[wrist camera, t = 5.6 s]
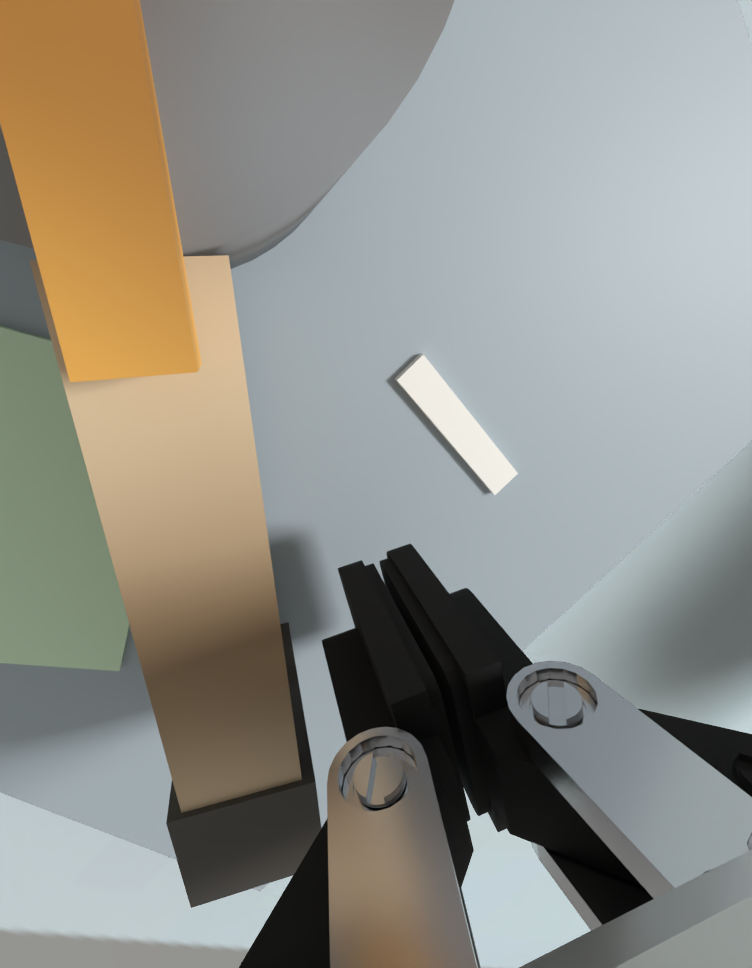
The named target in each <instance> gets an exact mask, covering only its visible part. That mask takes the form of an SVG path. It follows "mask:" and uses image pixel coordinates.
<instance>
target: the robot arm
mask: <svg viewBox="0 0 752 968" xmlns="http://www.w3.org/2000/svg"><path fill="white" fill-rule="evenodd" d="M380 567H381V571H382V575H383V579H384V582H383V580H382V578H381V576H380V574H379V572H378V570H377V569H376V567H375V565H374V563H372V564H369V565H366V566H365V565H364V563H363V561H362V560H360V561H357V562H354V563H351V564H349V565H346V566H343V567H340V568H338V572H339V575H340V579H341V582H342V585H343V589H344V592H345V595H346V599H347V602H348V606H349V609H350V612H351V616H352V619H353V622H354V626H355V628H354V629H351V630H348V631H345V632H342V633H340V634H337V635H334V636H331V637H329V638H326V639H323V640H322V645H323V649H324V653H325V657H326V661H327V665H328V669H329V673H330V677H331V681H332V685H333V689H334V693H335V697H336V701H337V705H338V709H339V713H340V717H341V722H342V726H343V730H344V734H345V738H346V743H345V744H344V746H343V747H342V748H341V749H340V750H339V752H338V753H337V754H336V755H335V757H334V759H333V762H332V764H331V766H330V768H329V773H328V780H327V820H326V821H325V823H324V825H323V826H322V828H321V830H320V832H319V833H318V835H317V837H316V838H315V840H314V842H313V843H312V845H311V847H310V848H309V850H308V852H307V853H306V855H305V857H304V859H303V860H302V862H301V864H300V865H299V867H298V869H297V870H296V872H295V874H294V875H293V877H292V879H291V880H290V882H289V884H288V886H287V887H286V889H285V891H284V892H283V894H282V896H281V897H280V899H279V901H278V902H277V904H276V906H275V907H274V909H273V911H272V913H271V914H270V916H269V918H268V919H267V921H266V923H265V924H264V926H263V928H262V929H261V931H260V933H259V934H258V936H257V938H256V940H255V941H254V943H253V945H252V946H251V948H250V950H249V951H248V953H247V955H246V956H245V958H244V960H243V962H242V963H241V965H240V967H239V968H481V966H480V962H479V958H478V954H477V949H476V945H475V941H474V937H473V933H472V929H471V925H470V921H469V917H468V913H467V908H466V904H465V900H464V896H463V892H462V888H461V886H462V883H463V880H464V877H465V874H466V871H467V868H468V865H469V862H470V859H471V856H472V853H473V846H472V842H471V837H470V833H469V829H468V825H467V821H469V820H470V815H469V810H468V806H467V802H466V797H465V793H464V789H465V791H466V793H467V795H468V797H469V800H470V802H471V804H472V806H473V808H474V810H475V812H476V813H477V815H478V816H480V815H482V814H484V813H486V812H488V813H489V815H490V817H491V819H492V821H493V823H494V825H495V827H496V829H497V831H498V832H500V831H502V830H504V829H506V828H507V829H508V831H509V833H510V834H512V835H515V836H517V837H520V838H522V839H525V840H527V841H530V842H531V844H532V847H533V849H534V851H535V853H536V854H537V856H538V858H539V860H540V861H541V863H542V864H543V865H544V867H545V868H546V869H547V871H548V872H549V873H550V875H551V876H552V878H553V879H554V880H555V882H556V883H557V884H558V886H559V887H560V889H561V890H562V891H563V893H564V894H565V895H566V897H567V898H568V900H569V901H570V902H571V904H572V905H573V906H574V908H575V909H576V910H577V912H578V913H579V915H580V916H581V917H582V919H583V920H584V921H585V923H586V924H587V926H588V927H589V928H590V930H591V931H590V932H588V933H586V934H584V935H582V936H580V937H578V938H576V939H574V940H573V941H571V942H569V943H567V944H565V945H563V946H561V947H559V948H557V949H555V950H553V951H551V952H549V953H547V954H545V955H543V956H541V957H539V958H537V959H535V960H533V961H531V962H529V963H528V964H526V965H524V966H522V967H520V968H752V734H748V733H743V732H739V731H735V730H730V729H726V728H721V727H717V726H712V725H708V724H704V723H699V722H695V721H690V720H686V719H681V718H677V717H673V716H668V715H664V714H659V713H655V712H650V711H646V710H642V709H637V708H636V707H634V706H633V705H632V704H631V703H629V702H628V701H627V700H625V699H624V698H623V697H621V696H620V695H619V694H618V693H616V692H615V691H614V690H612V689H611V688H610V687H609V686H607V685H606V684H605V683H603V682H602V681H601V680H599V679H598V678H597V677H596V676H594V675H593V674H591V673H590V672H588V671H586V670H585V669H583V668H581V667H579V666H576V665H573V664H570V663H566V662H558V661H546V662H538V663H534V664H533V663H532V662H531V661H530V660H529V659H528V658H527V656H526V655H525V654H524V653H523V652H522V650H521V649H520V648H519V647H518V646H517V645H516V643H515V642H514V641H513V640H512V639H511V637H510V636H509V635H508V634H507V633H506V632H505V630H504V629H503V628H502V627H501V626H500V625H499V623H498V622H497V621H496V620H495V619H494V617H493V616H492V615H491V614H490V613H489V612H488V610H487V609H486V608H485V607H484V606H483V604H482V603H481V602H480V601H479V600H478V599H477V597H476V596H475V595H474V594H473V593H472V592H471V591H470V590H469V589H468V588H464V589H461V590H458V591H455V592H453V593H450V594H449V593H448V591H447V590H446V589H445V587H444V586H443V585H442V583H441V582H440V581H439V579H438V578H437V577H436V575H435V574H434V573H433V572H432V570H431V569H430V568H429V566H428V565H427V564H426V562H425V561H424V560H423V558H422V557H421V556H420V554H419V553H418V552H417V550H416V549H415V548H414V547H413V545H412V544H407V545H404V546H401V547H398V548H395V549H393V550H390V551H387V559H384V560H381V561H380ZM463 787H464V789H463Z"/></svg>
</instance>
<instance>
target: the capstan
mask: <svg viewBox="0 0 752 968" xmlns="http://www.w3.org/2000/svg"><path fill="white" fill-rule="evenodd" d="M454 1H455V0H0V240H2V241H6V242H10V243H14V244H17V245H21V246H25V247H29V248H33V249H34V250H35V254H36V258H37V260H32V261H30V265H31V269H32V272H33V276H34V279H35V283H36V287H37V290H38V294H39V298H40V301H41V305H42V308H43V312H44V316H45V319H46V323H47V327H48V330H49V334H50V338H51V341H52V345H53V348H54V352H55V356H56V359H57V363H58V367H59V370H60V374H61V377H62V381H63V385H64V388H65V392H66V396H67V399H68V403H69V407H70V410H71V414H72V417H73V421H74V425H75V428H76V432H77V436H78V439H79V443H80V447H81V450H82V454H83V457H84V461H85V465H86V468H87V472H88V476H89V479H90V483H91V486H92V490H93V494H94V497H95V501H96V505H97V508H98V512H99V516H100V519H101V523H102V526H103V530H104V534H105V537H106V541H107V545H108V548H109V552H110V556H111V559H112V563H113V566H114V570H115V574H116V577H117V581H118V585H119V588H120V592H121V595H122V599H123V603H124V606H125V610H126V614H127V617H128V621H129V625H130V628H131V632H132V635H133V639H134V643H135V646H136V650H137V654H138V657H139V661H140V664H141V668H142V672H143V675H144V679H145V683H146V686H147V690H148V694H149V697H150V701H151V704H152V708H153V712H154V715H155V719H156V723H157V726H158V730H159V734H160V737H161V741H162V744H163V748H164V752H165V755H166V759H167V763H168V766H169V770H170V773H171V777H172V783H171V791H170V798H169V806H168V814H167V822H166V824H167V828H168V831H169V834H170V838H171V841H172V845H173V848H174V851H175V855H176V858H177V862H178V865H179V868H180V872H181V875H182V879H183V882H184V885H185V889H186V892H187V895H188V899H189V902H190V906H191V908H192V907H195V906H198V905H201V904H205V903H208V902H211V901H214V900H217V899H220V898H223V897H226V896H230V895H233V894H236V893H239V892H242V891H245V890H248V889H251V888H255V887H258V886H261V885H264V884H267V883H270V882H273V881H276V880H280V879H283V878H286V877H289V876H292V875H294V874H295V872H296V870H297V869H298V867H299V865H300V864H301V862H302V860H303V859H304V857H305V855H306V853H307V852H308V850H309V848H310V847H311V845H312V843H313V842H314V840H315V838H316V837H317V835H318V833H319V832H320V830H321V821H320V813H319V805H318V797H317V789H316V781H315V775H314V770H313V764H312V758H311V752H310V746H309V740H308V734H307V728H306V723H305V717H304V711H303V705H302V699H301V693H300V687H299V681H298V676H297V670H296V664H295V658H294V652H293V646H292V640H291V634H290V628H289V623H288V622H287V623H282V624H280V619H279V611H278V604H277V597H276V590H275V583H274V576H273V568H272V561H271V554H270V547H269V540H268V533H267V526H266V518H265V511H264V504H263V497H262V490H261V483H260V475H259V468H258V461H257V454H256V447H255V440H254V433H253V425H252V418H251V411H250V404H249V397H248V390H247V382H246V375H245V368H244V361H243V354H242V347H241V340H240V332H239V325H238V318H237V311H236V304H235V297H234V289H233V282H232V275H231V269H232V268H235V267H237V266H240V265H242V264H245V263H247V262H249V261H252V260H254V259H256V258H257V257H259V256H261V255H262V254H264V253H266V252H267V251H269V250H271V249H272V248H274V247H275V246H277V245H278V244H279V243H280V242H281V241H283V240H284V239H285V238H286V237H288V236H289V235H290V234H291V233H292V232H294V231H295V229H296V228H297V227H298V226H299V225H300V224H301V223H302V222H303V221H304V220H305V219H306V217H307V216H308V215H309V214H310V213H311V212H312V211H313V210H314V208H315V207H316V206H317V205H318V204H319V203H320V201H321V200H322V199H323V198H324V197H325V196H326V194H327V193H328V192H329V191H330V190H331V189H332V187H333V186H334V185H335V184H336V183H337V182H338V180H339V179H340V178H341V177H342V176H343V175H344V174H345V172H346V171H347V170H348V169H349V168H350V167H351V165H352V164H353V163H354V162H355V161H356V160H357V158H358V157H359V156H360V155H361V154H362V153H363V151H364V150H365V149H366V148H367V147H368V146H369V144H370V143H371V142H372V141H373V140H374V139H375V137H376V136H377V135H378V134H379V133H380V132H381V131H382V129H383V128H384V127H385V126H386V125H387V123H388V122H389V121H390V119H391V118H392V116H393V115H394V113H395V112H396V110H397V109H398V107H399V106H400V105H401V103H402V102H403V100H404V99H405V97H406V96H407V94H408V93H409V92H410V90H411V89H412V87H413V86H414V84H415V83H416V81H417V80H418V78H419V76H420V74H421V72H422V70H423V68H424V66H425V64H426V63H427V61H428V59H429V57H430V55H431V53H432V51H433V49H434V47H435V45H436V43H437V41H438V39H439V37H440V35H441V34H442V32H443V30H444V27H445V25H446V22H447V19H448V17H449V14H450V11H451V9H452V6H453V3H454Z"/></svg>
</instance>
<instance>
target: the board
mask: <svg viewBox="0 0 752 968" xmlns="http://www.w3.org/2000/svg"><path fill="white" fill-rule="evenodd" d="M32 260H37V258H36V254H35V250H34V249H33V248H29V247H25V246H21V245H17V244H14V243H10V242H6V241H2V240H0V792H1V793H3V794H6V795H8V796H11V797H14V798H16V799H19V800H22V801H24V802H27V803H29V804H32V805H35V806H37V807H40V808H43V809H45V810H48V811H50V812H53V813H56V814H58V815H61V816H64V817H66V818H69V819H71V820H74V821H77V822H79V823H82V824H85V825H87V826H90V827H92V828H95V829H98V830H100V831H103V832H106V833H108V834H111V835H113V836H116V837H119V838H121V839H124V840H127V841H129V842H132V843H134V844H137V845H140V846H142V847H145V848H148V849H150V850H153V851H155V852H158V853H161V854H163V855H166V856H169V857H171V858H174V859H176V860H177V858H176V855H175V851H174V848H173V845H172V841H171V838H170V834H169V831H168V828H167V824H166V822H167V814H168V806H169V798H170V791H171V783H172V777H171V773H170V770H169V766H168V763H167V759H166V755H165V752H164V748H163V744H162V741H161V737H160V734H159V730H158V726H157V723H156V719H155V715H154V712H153V708H152V704H151V701H150V697H149V694H148V690H147V686H146V683H145V679H144V675H143V672H142V668H141V664H140V661H139V657H138V654H137V650H136V646H135V643H134V639H133V635H132V632H131V628H130V625H129V621H128V617H127V614H126V610H125V606H124V603H123V599H122V595H121V592H120V588H119V585H118V581H117V577H116V574H115V570H114V566H113V563H112V559H111V556H110V552H109V548H108V545H107V541H106V537H105V534H104V530H103V526H102V523H101V519H100V516H99V512H98V508H97V505H96V501H95V497H94V494H93V490H92V486H91V483H90V479H89V476H88V472H87V468H86V465H85V461H84V457H83V454H82V450H81V447H80V443H79V439H78V436H77V432H76V428H75V425H74V421H73V417H72V414H71V410H70V407H69V403H68V399H67V396H66V392H65V388H64V385H63V381H62V377H61V374H60V370H59V367H58V363H57V359H56V356H55V352H54V348H53V345H52V341H51V338H50V334H49V330H48V327H47V323H46V319H45V316H44V312H43V308H42V305H41V301H40V298H39V294H38V290H37V287H36V283H35V279H34V276H33V272H32V269H31V265H30V261H32ZM231 275H232V282H233V289H234V297H235V304H236V311H237V318H238V325H239V332H240V340H241V347H242V354H243V361H244V368H245V375H246V382H247V390H248V397H249V404H250V411H251V418H252V425H253V433H254V440H255V447H256V454H257V461H258V468H259V475H260V483H261V490H262V497H263V504H264V511H265V518H266V526H267V533H268V540H269V547H270V554H271V561H272V568H273V576H274V583H275V590H276V597H277V604H278V611H279V619H280V624H282V623H287V622H288V623H289V628H290V634H291V640H292V646H293V652H294V658H295V664H296V670H297V676H298V681H299V687H300V693H301V699H302V705H303V711H304V717H305V723H306V728H307V734H308V740H309V746H310V752H311V758H312V764H313V770H314V775H315V781H316V789H317V797H318V805H319V813H320V821H321V828H322V826H323V825H324V823H325V821H326V820H327V780H328V773H329V768H330V766H331V764H332V762H333V759H334V757H335V755H336V754H337V753H338V752H339V750H340V749H341V748H342V747H343V746H344V744H345V743H346V738H345V734H344V730H343V726H342V722H341V717H340V713H339V709H338V705H337V701H336V697H335V693H334V689H333V685H332V681H331V677H330V673H329V669H328V665H327V661H326V657H325V653H324V649H323V645H322V640H323V639H326V638H329V637H331V636H334V635H337V634H340V633H342V632H345V631H348V630H351V629H354V628H355V626H354V622H353V619H352V616H351V612H350V609H349V606H348V602H347V599H346V595H345V592H344V589H343V585H342V582H341V579H340V575H339V572H338V568H340V567H343V566H346V565H349V564H351V563H354V562H357V561H360V560H362V561H363V563H364V565H365V566H366V565H369V564H372V563H374V565H375V567H376V569H377V570H378V572H379V574H380V576H381V578H382V580H383V582H384V579H383V575H382V571H381V567H380V561H381V560H384V559H387V551H390V550H393V549H395V548H398V547H401V546H404V545H407V544H412V545H413V547H414V548H415V549H416V550H417V552H418V553H419V554H420V556H421V557H422V558H423V560H424V561H425V562H426V564H427V565H428V566H429V568H430V569H431V570H432V572H433V573H434V574H435V575H436V577H437V578H438V579H439V581H440V582H441V583H442V585H443V586H444V587H445V589H446V590H447V591H448V593H449V594H450V593H453V592H455V591H458V590H461V589H464V588H468V589H469V590H470V591H471V592H472V593H473V594H474V595H475V596H476V597H477V599H478V600H479V601H480V602H481V603H482V604H483V606H484V607H485V608H486V609H487V610H488V612H489V613H490V614H491V615H492V616H493V617H494V619H495V620H496V621H497V622H498V623H499V625H500V626H501V627H502V628H503V629H504V630H505V632H506V633H507V634H508V635H509V636H510V637H511V639H512V640H513V641H514V642H515V643H516V645H517V646H518V647H519V648H520V649H521V650H522V651H523V650H524V649H525V648H526V647H527V646H528V645H529V644H530V643H532V642H533V641H534V640H535V639H536V638H537V637H538V636H539V635H540V634H541V633H542V632H544V631H545V630H546V629H547V628H548V627H549V626H550V625H551V624H552V623H553V622H554V621H556V620H557V619H558V618H559V617H560V616H561V615H562V614H563V613H564V612H565V611H566V610H568V609H569V608H570V607H571V606H572V605H573V604H574V603H575V602H576V601H577V600H578V599H580V598H581V597H582V596H583V595H584V594H585V593H586V592H587V591H588V590H589V589H590V588H592V587H593V586H594V585H595V584H596V583H597V582H598V581H599V580H600V579H601V578H603V577H604V576H605V575H606V574H607V573H608V572H609V571H610V570H611V569H612V568H613V567H615V566H616V565H617V564H618V563H619V562H620V561H621V560H622V559H623V558H624V557H625V556H627V555H628V554H629V553H630V552H631V551H632V550H633V549H634V548H635V547H636V546H637V545H639V544H640V543H641V542H642V541H643V540H644V539H645V538H646V537H647V536H648V535H649V534H651V533H652V532H653V531H654V530H655V529H656V528H657V527H658V526H659V525H660V524H661V523H663V522H664V521H665V520H666V519H667V518H668V517H669V516H670V515H671V514H672V513H673V512H675V511H676V510H677V509H678V508H679V507H680V506H681V505H682V504H683V503H684V502H685V501H687V500H688V499H689V498H690V497H691V496H692V495H693V494H694V493H695V492H696V491H697V490H699V489H700V488H701V487H702V486H703V485H704V484H705V483H706V482H707V481H708V480H709V479H711V478H712V477H713V476H714V475H715V474H716V473H717V472H718V471H719V470H720V469H721V468H723V467H724V466H725V465H726V464H727V463H728V462H729V461H730V460H731V459H732V458H733V457H735V456H736V455H737V454H738V453H739V452H740V451H741V450H742V449H743V448H744V447H745V446H747V445H748V444H749V443H750V442H751V441H752V44H751V41H750V38H749V34H748V31H747V28H746V25H745V21H744V18H743V15H742V11H741V8H740V5H739V2H738V0H455V1H454V3H453V6H452V9H451V11H450V14H449V17H448V19H447V22H446V25H445V27H444V30H443V32H442V34H441V35H440V37H439V39H438V41H437V43H436V45H435V47H434V49H433V51H432V53H431V55H430V57H429V59H428V61H427V63H426V64H425V66H424V68H423V70H422V72H421V74H420V76H419V78H418V80H417V81H416V83H415V84H414V86H413V87H412V89H411V90H410V92H409V93H408V94H407V96H406V97H405V99H404V100H403V102H402V103H401V105H400V106H399V107H398V109H397V110H396V112H395V113H394V115H393V116H392V118H391V119H390V121H389V122H388V123H387V125H386V126H385V127H384V128H383V129H382V131H381V132H380V133H379V134H378V135H377V136H376V137H375V139H374V140H373V141H372V142H371V143H370V144H369V146H368V147H367V148H366V149H365V150H364V151H363V153H362V154H361V155H360V156H359V157H358V158H357V160H356V161H355V162H354V163H353V164H352V165H351V167H350V168H349V169H348V170H347V171H346V172H345V174H344V175H343V176H342V177H341V178H340V179H339V180H338V182H337V183H336V184H335V185H334V186H333V187H332V189H331V190H330V191H329V192H328V193H327V194H326V196H325V197H324V198H323V199H322V200H321V201H320V203H319V204H318V205H317V206H316V207H315V208H314V210H313V211H312V212H311V213H310V214H309V215H308V216H307V217H306V219H305V220H304V221H303V222H302V223H301V224H300V225H299V226H298V227H297V228H296V229H295V231H294V232H292V233H291V234H290V235H289V236H288V237H286V238H285V239H284V240H283V241H281V242H280V243H279V244H278V245H277V246H275V247H274V248H272V249H271V250H269V251H267V252H266V253H264V254H262V255H261V256H259V257H257V258H256V259H254V260H252V261H249V262H247V263H245V264H242V265H240V266H237V267H235V268H232V269H231ZM267 884H269V883H267ZM267 884H264V885H261V886H258V887H255V888H253V889H255V890H258V891H261V890H262V889H263V888H264V887H265V886H266V885H267Z"/></svg>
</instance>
